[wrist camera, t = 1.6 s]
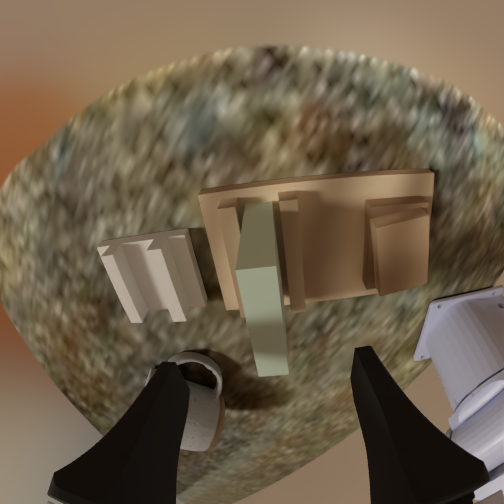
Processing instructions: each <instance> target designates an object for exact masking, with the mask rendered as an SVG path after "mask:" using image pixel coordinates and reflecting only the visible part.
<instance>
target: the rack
mask: <svg viewBox="0 0 504 504" xmlns="http://www.w3.org/2000/svg"><path fill="white" fill-rule="evenodd" d="M433 186H434V173H433V172H432V171H430V170H428V169H405V170H382V171H365V172H350V173H337V174H325V175H314V176H304V177H294V178H285V179H276V180H267V181H259V182H252V183H244V184H237V185H230V186H223V187H216V188H209V189H203V190H201V191H200V193H199V194H198V197H199V201H200V206H201V210H202V214H203V219H204V223H205V227H206V231H207V235H208V240H209V244H210V248H211V252H212V256H213V260H214V264H215V268H216V272H217V276H218V280H219V284H220V287H221V291H222V295H223V299H224V303H225V306H226V310H236V309H239V310H240V314H241V318H243V317H245V313H244V308H243V304H242V299H241V295H240V290H239V286H238V281H237V276H236V272H235V268H236V261H237V255H238V248H239V242H240V235H241V229H242V222H243V216H244V209H245V204H252V203H260V202H268V201H272V204H273V212H274V220H275V228H276V236H277V244H278V252H279V260H280V269H281V278H282V286H283V296H284V305H290V309H291V313H297V312H306V311H305V303H308V302H316V301H325V300H333V299H341V298H348V297H356V296H363V295H370V294H377V293H379V292H378V290H377V288H375V289H368V290H366V288H365V285H364V283H363V281H362V272H363V255H364V230H365V200H367V199H379V198H392V197H406V196H422V197H423V198H424V199H425V200H427V201H428V202H429V207H428V215H429V227H430V219H431V210H432V199H433ZM419 286H420V285H418V286H415V287H419ZM415 287H412V288H415ZM408 289H409V288H408Z"/></svg>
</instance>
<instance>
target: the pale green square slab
mask: <svg viewBox="0 0 504 504" xmlns="http://www.w3.org/2000/svg"><path fill="white" fill-rule="evenodd" d="M235 272H236V276H237V281H238V286H239V290H240V295H241V299H242V304H243V308H244V313H245V317H246V322H247V326H248V331H249V335H250V340H251V344H252V348H253V353H254V357H255V362H256V366H257V370H258V374H259V377H260V376H275V375H287V374H289V371H288V354H287V338H286V324H285V309H284V296H283V286H282V278H281V269H280V260H279V252H278V244H277V236H276V228H275V220H274V212H273V204H272V201H268V202H260V203H252V204H245V209H244V216H243V222H242V229H241V235H240V242H239V248H238V255H237V261H236V268H235Z"/></svg>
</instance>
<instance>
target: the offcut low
mask: <svg viewBox="0 0 504 504" xmlns="http://www.w3.org/2000/svg"><path fill="white" fill-rule="evenodd" d="M420 207H421V208H422V209H423V210H424V211H425V212H426V213H427V214H428V207H429V202H428V201H427V200H425V199H424V198H423V197H422V196H406V197H392V198H379V199H367V200H365V230H364V255H363V272H362V281H363V283H364V285H365V288H366V290H368V289H375V288H376V286H375V275H374V260H373V248H372V238H371V228H370V219H372V218H377V217H381V216H385V215H389V214H394V213H398V212H402V211H407V210H411V209H415V208H420Z"/></svg>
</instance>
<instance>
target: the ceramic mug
mask: <svg viewBox="0 0 504 504" xmlns="http://www.w3.org/2000/svg"><path fill="white" fill-rule="evenodd" d="M167 362H176V364H177V365H179V364H183V363H186V362H198V363H201V364H203V365H204V366H205V367H206V368H207V369H209V370H211V371H212V372H213V374H214V375H216V377H217V383H216V387H215V389H214V390H213V389H211V388H209V387H206V386H203V385H200V384H196V383H193V382H190V381H187V380H185V381H186V383H187V384H188V386H189V388H190V397H189V408H188V414H187V419H186V424H185V428H184V433H183V438H182V442H181V447H180V449H185V450H191V451H207V450H210V449H212V448H213V447H214V446H215V445H216V443H217V441H218V439H219V437H220V434H221V431H222V427H223V423H224V416H225V403H224V399H223V397H222V395H221V394H220V393H221V390H222V375H221V371H220V368H219V367H218V365H217V364H216V363H215V362H214V361H213V360H212V359H211V358H209V357H207V356H205V355H203V354H199V353H196V352H183V353H179V354H176V355H175V356H173V357H172V358H170V359H169V360H168V361H167ZM156 370H157V369H155V368H151V369H150V372H149V375H148V378H147V381H146V384H147V383H148V382H149V380H150V379H151V377H152V376H153V374H154V373H155V371H156ZM146 384H145V386H146Z"/></svg>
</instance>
